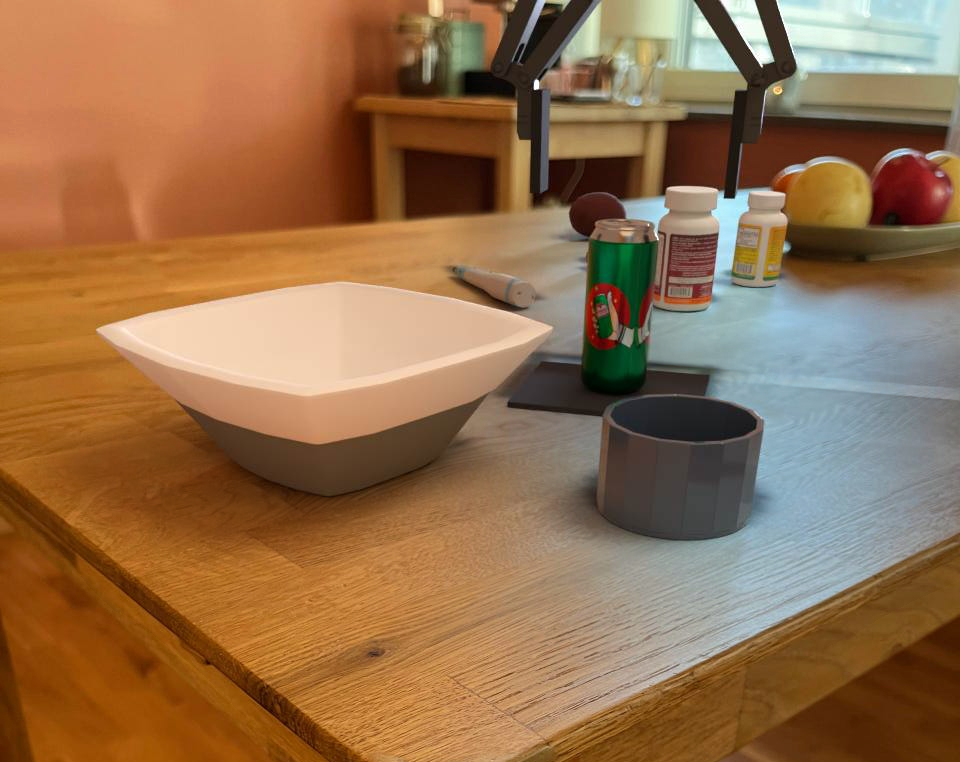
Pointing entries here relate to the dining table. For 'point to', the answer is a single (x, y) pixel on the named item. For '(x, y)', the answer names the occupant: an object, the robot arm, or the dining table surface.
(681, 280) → the pill bottle
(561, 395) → the mat
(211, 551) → the dining table surface
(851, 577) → the dining table surface
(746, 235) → the supplement bottle
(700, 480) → the gray round container
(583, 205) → the plum
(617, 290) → the soda can
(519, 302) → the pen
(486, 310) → the bowl
